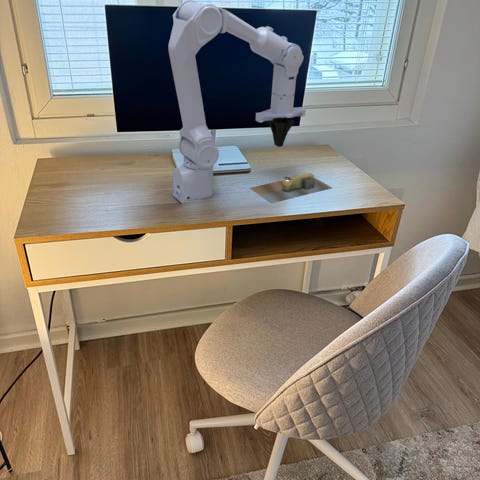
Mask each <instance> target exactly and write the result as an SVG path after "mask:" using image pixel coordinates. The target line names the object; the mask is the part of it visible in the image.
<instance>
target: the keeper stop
mask: <svg viewBox="0 0 480 480" xmlns="http://www.w3.org/2000/svg"><path fill="white" fill-rule="evenodd" d="M314 178H315V177H314ZM314 178H310V179H306V180H304V183H303V189H305V190H307V189H311V188H314V185H315V179H314Z"/></svg>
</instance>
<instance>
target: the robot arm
mask: <svg viewBox="0 0 480 480" xmlns="http://www.w3.org/2000/svg"><path fill="white" fill-rule="evenodd" d="M172 20H173V25H172V28H171V33H170V39H169V41H168V49H167V50H168V55H169V59H170V60H169V61H170V65H171V70H172V76H173V81H174V86H175V91H176V97H177V101H178V108H179V112H180V117H181V122H182V127H181V129H179V143H178V151H179V152H180V154H181V155H183V163H182V164H181V165H180V166H177V167H175V168H174V169H173V173H172V178H173V179H172V183H173V188H172V189H173V193H172V196H173V197H174V198H175V199H176V200H177V201H179V203H181V204H184V202H188V201H192V200H201V199H207V198H209V197H212V195H213V194H214V192H213V191H214V166H215V164H216V163H217V162H218V159H219V156H220V151H219V149H218V146H217V145H216V144H215V142H214V137H213V134H212V133H211V131H210V130H209V128H208V126H207V122H206V115H205V111H204V103H203V97H202V92H201V91H202V90H201V85H200V79H199V71H198V66H197V65H198V64H197V60H196V55H197V53H198V52H199V51H200V50H201V48H202V47H203V46H205V45H206V44H207V43H209V42H210V41H211V40H212V39H214V38H215V37H216V36H217V35H218V34H225V33H226V32H227V33H229V34H231V35H233V36H235V37H237V38H239V39H241V40H242V41H245V42H246V43H249V47H250V50H251V51H252V52H253V53H255V54H257V55H259V56H260V57H263V58H265V59H267V60H269V61H270V63H271V64H272V65H273V75H272V86H271V99H270V101H271V102H270V109H266V110H264V111H263V110H262V111H261V112H255V121H256V122H258V123H260V124H261V123H264V122H267V123H268V125H269V127H270V130H271V133H272V139H273V144H274V146H276V147H278V148H280V147H283V146H284V144H285V140H286V138H287V135H288V133H289V131H290V130H291V128H292V127H293V126H294V124H295V120H294V119H292V118H295V117H306V111H307V109H306V108H304V107H302V106H298V107H294V101H295V92H296V81H297V76H298V74H299V68H300V67H301V66H302V63H303V62H304V58H305V57H304V55H303V51H302V49H301V47H300V45H299V44H296V43H293V42H289V41H288V38H287V37H286V36H284V35H282V36H280V35H278V34H276V32H274V28H272V27H271V26H268V25H267V26H260V27H258V28H255V27H253V26H252V25H250V24H249V23H248V22H245V21H244V20H243V19H241V18H239V17H238V16H237V15H235V14H233V13H231V12H230V11H228V10H227V9H224V8H221V7H218V6H216V5H214V4H212V3H203V2H197V1H194V0H185V1H183V2H182V3H181V4H180V5H179V6H178V7H177V9H176V10H175V11H174V13H173V14H172Z"/></svg>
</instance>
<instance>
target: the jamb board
mask: <svg viewBox="0 0 480 480" xmlns="http://www.w3.org/2000/svg"><path fill="white" fill-rule="evenodd" d="M314 179H315V185H314V188H311V189H307V190H305V189H303V187H301V188H296V189H292V190H291V191H284V190H282V181H283V180H279V181H274V182H271V183H270V182H269V183H265V184H261V185H256V186H252V187H249V189H250V190H251V191H253V192H254V193H255V194H256V195H259V196H260V197H262V199H265V200H266V201H267V202H269V203H270V204H275V203H278V202H282V201H286V200H290V199H295V198H299V197H302V196H308V195H310V194H314V193H315V194H316V193H319V192H322V191H326V190H331V189H333V187H332V186H331V185H328V184H327V183H324V182H323V181H322V180H319V179H318V178H316V177H314Z"/></svg>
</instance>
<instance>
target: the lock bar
mask: <svg viewBox="0 0 480 480" xmlns="http://www.w3.org/2000/svg"><path fill="white" fill-rule="evenodd" d="M310 178H315V174H313V173H311V172H308V173H304V174H300V175H294V176H284V177H282V180H281V181H282V190H284V191H291V190H292V189H296V188H301V187H303V183H304V180H306V179H310Z"/></svg>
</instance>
